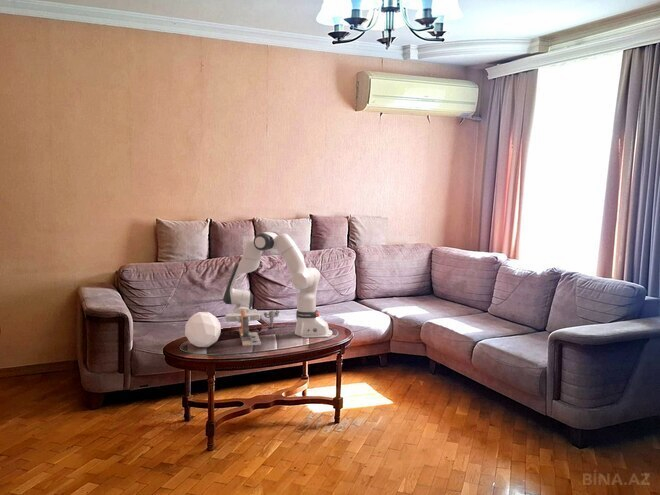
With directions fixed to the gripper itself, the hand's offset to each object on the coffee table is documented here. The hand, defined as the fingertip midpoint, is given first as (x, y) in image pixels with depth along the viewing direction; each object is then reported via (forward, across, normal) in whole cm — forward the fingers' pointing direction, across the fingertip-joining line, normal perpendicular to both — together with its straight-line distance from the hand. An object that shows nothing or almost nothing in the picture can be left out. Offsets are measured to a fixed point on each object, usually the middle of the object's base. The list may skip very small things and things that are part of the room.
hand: (243, 320), depth 339 cm
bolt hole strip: (+7, +5, +10) cm, 13 cm away
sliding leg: (-1, 0, +7) cm, 7 cm away
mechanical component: (-20, +18, +10) cm, 29 cm away
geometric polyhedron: (+14, -23, +10) cm, 29 cm away
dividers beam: (+7, 0, +10) cm, 12 cm away
